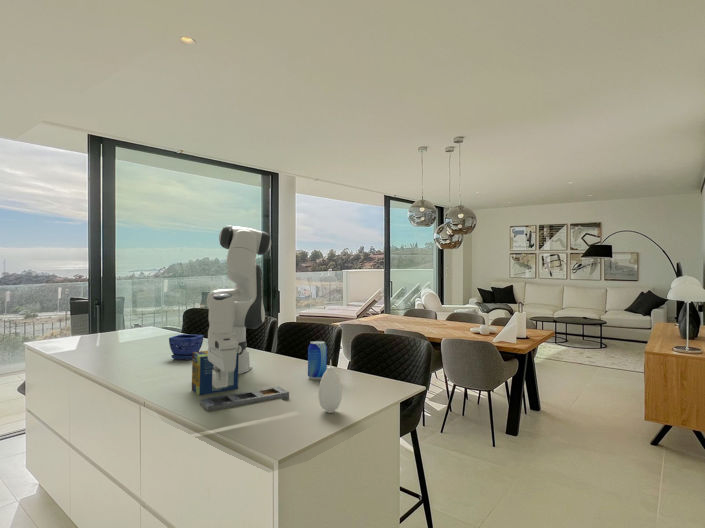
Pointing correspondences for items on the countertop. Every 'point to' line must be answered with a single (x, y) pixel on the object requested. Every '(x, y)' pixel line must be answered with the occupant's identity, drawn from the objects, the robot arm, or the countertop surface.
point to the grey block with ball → (218, 379)
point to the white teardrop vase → (330, 390)
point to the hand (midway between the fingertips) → (220, 379)
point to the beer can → (317, 360)
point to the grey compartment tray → (244, 398)
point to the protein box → (209, 375)
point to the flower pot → (185, 345)
